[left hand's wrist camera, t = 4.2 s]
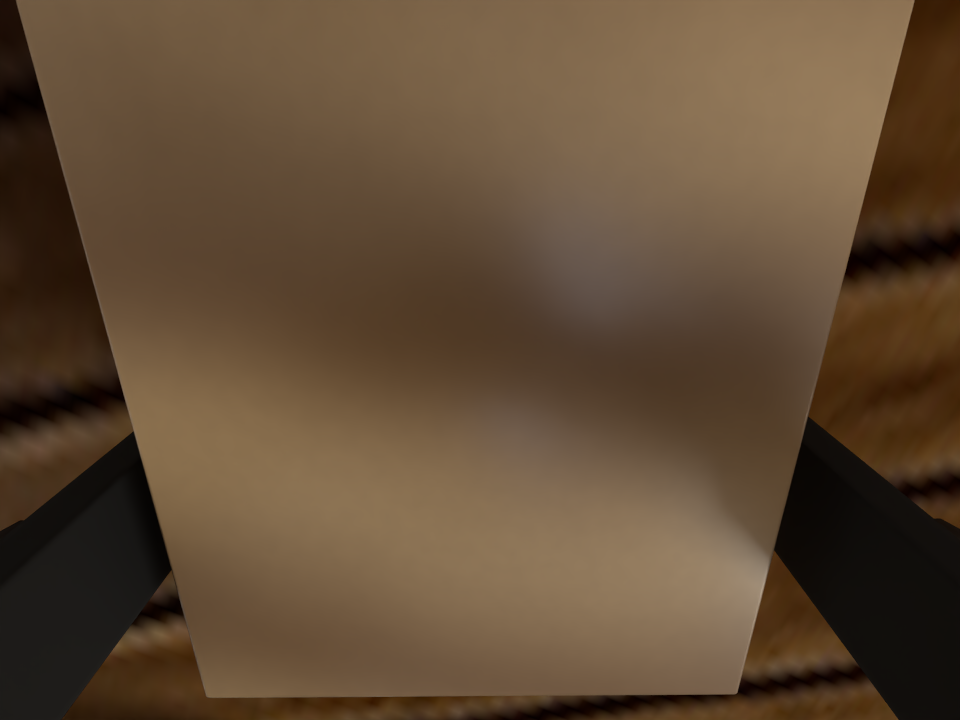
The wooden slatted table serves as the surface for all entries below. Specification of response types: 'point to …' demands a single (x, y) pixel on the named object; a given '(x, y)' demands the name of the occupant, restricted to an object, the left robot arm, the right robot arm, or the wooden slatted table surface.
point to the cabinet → (467, 318)
